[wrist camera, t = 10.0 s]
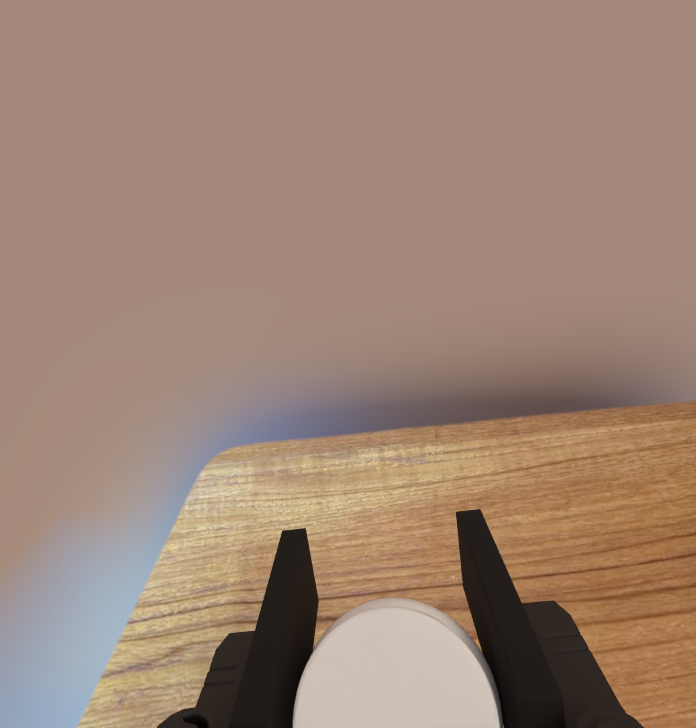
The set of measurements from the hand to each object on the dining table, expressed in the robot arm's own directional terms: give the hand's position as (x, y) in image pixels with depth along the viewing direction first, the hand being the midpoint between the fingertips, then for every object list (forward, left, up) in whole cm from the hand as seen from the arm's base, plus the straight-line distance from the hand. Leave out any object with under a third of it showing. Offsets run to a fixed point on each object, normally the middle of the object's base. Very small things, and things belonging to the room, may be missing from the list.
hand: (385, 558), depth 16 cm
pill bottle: (+2, -3, -3) cm, 5 cm away
